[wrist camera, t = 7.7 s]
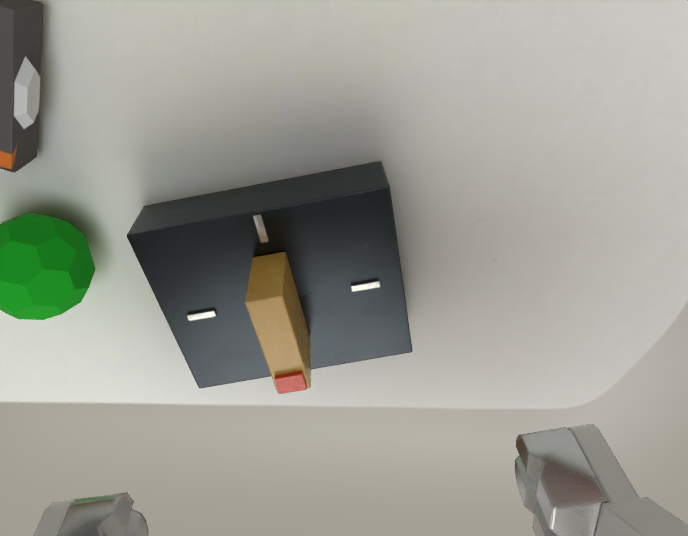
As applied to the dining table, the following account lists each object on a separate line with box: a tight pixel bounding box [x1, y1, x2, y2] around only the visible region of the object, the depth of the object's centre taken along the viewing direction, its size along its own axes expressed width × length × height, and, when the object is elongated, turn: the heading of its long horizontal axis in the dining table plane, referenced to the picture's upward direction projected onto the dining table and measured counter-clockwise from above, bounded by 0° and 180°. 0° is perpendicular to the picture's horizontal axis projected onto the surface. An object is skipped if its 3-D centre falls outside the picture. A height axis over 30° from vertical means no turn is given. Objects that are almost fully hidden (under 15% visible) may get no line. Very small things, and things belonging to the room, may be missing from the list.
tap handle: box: [245, 252, 311, 394], centre depth 24 cm, size 6×2×4 cm, turn 10°
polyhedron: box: [0, 213, 95, 320], centre depth 24 cm, size 5×5×5 cm
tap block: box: [127, 161, 412, 388], centre depth 27 cm, size 12×10×3 cm
